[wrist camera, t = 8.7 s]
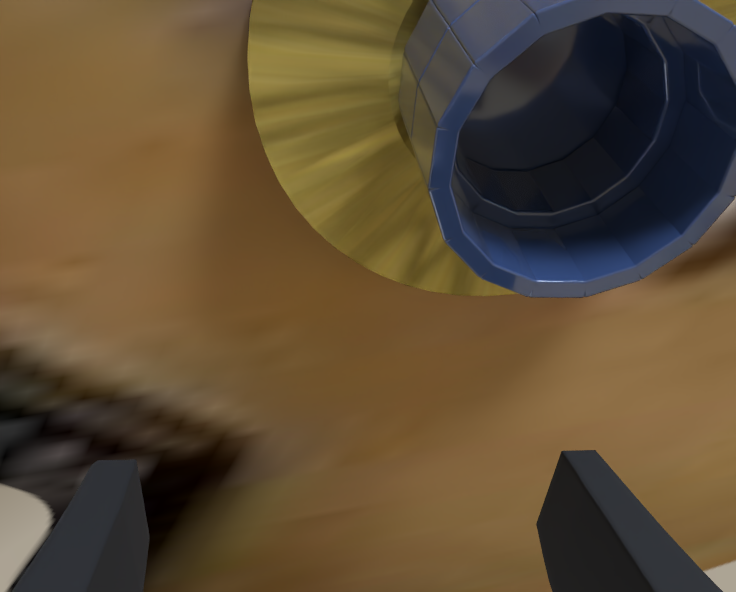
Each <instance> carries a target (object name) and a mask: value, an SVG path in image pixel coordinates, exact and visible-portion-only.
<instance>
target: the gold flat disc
mask: <svg viewBox="0 0 736 592" xmlns="http://www.w3.org/2000/svg"><path fill="white" fill-rule="evenodd" d="M699 1H701V2H702V3H704V4H705V5H707V6H709V7H710V8H712V9H713V10H715V11H717V12H718V13H720V14H722V15H723V16H725V17H726V18H728V19H730V20H731V21H733V23H734V24H735V25H736V0H699ZM428 2H429V0H252V7H251V14H250V24H249V39H248V53H247V57H248V74H249V91H250V96H251V101H252V107H253V112H254V117H255V123H256V126H257V129H258V132H259V135H260V138H261V141H262V144H263V147H264V151H265V154H266V156H267V158H268V160H269V162H270V164H271V166H272V168H273V170H274V173H275V175H276V177H277V179H278V181H279V183H280V184H281V186H282V187H283V189H284V190H285V192H286V193H287V195H288V197H289V198H290V200H291V201H292V203H293V204H294V206H295V207H296V208H297V210H298V211H299V212H300V213H301V214H302V215H303V217H304V218H305V219H306V220H307V221H308V222H309V224H310V225H311V226H312V227H313V228H314V229H315V230H316V231H317V232H318V233H319V234H320V235H321V236H323V237H324V238H325V239H326V240H327V241H328V242H329V243H330V244H331V245H333V246H334V247H335V248H336V249H338V250H339V251H341V252H342V253H343V254H345V255H346V256H348V257H349V258H351V259H352V260H354V261H355V262H356V263H358V264H360V265H362V266H364V267H366V268H368V269H369V270H371V271H373V272H375V273H377V274H379V275H381V276H384V277H386V278H389V279H391V280H394V281H397V282H399V283H402V284H404V285H408V286H412V287H416V288H419V289H423V290H427V291H431V292H438V293H445V294H452V295H464V296H495V295H508V294H517V293H516V292H513V291H511V290H508V289H506V288H503V287H500V286H498V285H495V284H493V283H490V282H488V281H485V280H482V279H481V278H480V277H478V276H477V275H476V274H475V273H474V272H473V271H472V270H471V269H470V268H469V267H468V266H467V265H466V264H465V263H464V262H463V261H462V260H461V259H460V258H459V257H458V256H457V255H456V254H455V253H454V251H453V250H452V249H451V248H450V247H449V246H448V245H447V244H446V243H445V241H444V240H443V238H442V235H441V232H440V229H439V226H438V223H437V221H436V218H435V215H434V212H433V209H432V206H431V203H430V200H429V197H428V194H427V191H426V188H425V185H424V183H423V180H422V177H421V174H420V171H419V168H418V165H417V162H416V159H415V156H414V154H413V151H412V148H411V145H410V141H409V138H408V135H407V132H406V129H405V125H404V122H403V119H402V116H401V113H400V110H399V102H398V96H399V87H400V77H401V67H402V58H403V53H404V52H405V51H404V48H405V46H406V44H407V42H408V40H409V38H410V36H411V34H412V32H413V31H414V29H415V27H416V25H417V23H418V21H419V19H420V17H421V15H422V13H423V11H424V9H425V7H426V5H427V3H428Z"/></svg>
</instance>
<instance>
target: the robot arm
mask: <svg viewBox="0 0 736 592" xmlns="http://www.w3.org/2000/svg"><path fill="white" fill-rule="evenodd" d="M537 529H538V534H539V539H540V543H541V548H542V553H543V557H544V562H545V566H546V570H547V574H548V578H549V582H550V585H551V588H552V591H553V592H723V591H722V590H721V589H720V588H719V587H718V586H716V584H714V582H713V581H712V580H711V579H710V578H709V577H708V576H707V575H706V574H705V573H704V572H703V571H702V570H701V569H700V568H699V567H698V566H697V565H696V564H695V562H694V561H693V560H692V559H691V558H690V557H689V556H688V555H687V554H686V553H685V552H684V550H683V549H682V548H681V547H680V546H679V545H678V544H677V543H676V542H675V541H674V540H673V539H672V537H671V536H670V535H669V534H668V533H667V532H666V531H665V530H664V529H663V528H662V526H661V525H660V524H659V523H658V522H657V521H656V520H655V519H654V517H653V516H652V515H651V514H650V513H649V512H648V511H647V509H646V508H645V507H644V506H643V505H642V504H641V503H640V501H639V500H638V499H637V498H636V497H635V496H634V494H633V493H632V492H631V491H630V490H629V489H628V487H627V486H626V485H625V484H624V483H623V482H622V481H621V479H620V478H619V477H618V476H617V475H616V474H615V472H614V471H613V470H612V469H611V468H610V467H609V465H608V464H607V463H606V462H605V461H604V460H603V459H602V457H601V456H600V455H599V454H598V453H597V452H596V451H595V450H584V451H562V452H561V455H560V458H559V460H558V463H557V466H556V469H555V472H554V475H553V478H552V481H551V483H550V486H549V489H548V492H547V495H546V498H545V501H544V504H543V507H542V509H541V512H540V515H539V518H538V521H537ZM148 545H149V531H148V525H147V519H146V514H145V508H144V502H143V496H142V490H141V484H140V478H139V473H138V467H137V461H136V460H98V461H96V462H95V463H94V464H92V465H91V467H90V469H89V471H88V472H87V474H86V476H85V478H84V480H83V481H82V483H81V485H80V487H79V488H78V490H77V492H76V494H75V495H74V497H73V499H72V500H71V502H70V504H69V505H68V507H67V509H66V510H65V512H64V514H63V515H62V517H61V518H60V520H59V522H58V523H57V525H56V526H55V528H54V530H53V531H52V533H51V534H50V536H49V537H48V539H47V541H46V542H45V544H44V545H43V546H42V548H41V549H40V551H39V552H38V554H37V555H36V557H35V558H34V560H33V561H32V563H31V564H30V566H29V567H28V569H27V570H26V572H25V573H24V575H23V576H22V577H21V579H20V580H19V582H18V583H17V585H16V586H15V588H14V589H13V590H12V592H143V586H144V579H145V571H146V562H147V554H148Z"/></svg>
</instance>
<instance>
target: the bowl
mask: <svg viewBox="0 0 736 592" xmlns="http://www.w3.org/2000/svg"><path fill="white" fill-rule="evenodd" d="M404 51H405V52H404V53H403V58H402V67H401V77H400V87H399V96H398V102H399V110H400V113H401V116H402V119H403V122H404V125H405V129H406V132H407V135H408V138H409V141H410V145H411V148H412V151H413V154H414V156H415V159H416V162H417V165H418V168H419V171H420V174H421V177H422V180H423V183H424V185H425V188H426V191H427V194H428V197H429V200H430V203H431V206H432V209H433V212H434V215H435V218H436V221H437V223H438V226H439V229H440V232H441V235H442V238H443V240H444V241H445V243H446V244H447V245H448V246H449V247H450V248H451V249H452V250H453V251H454V253H455V254H456V255H457V256H458V257H459V258H460V259H461V260H462V261H463V262H464V263H465V264H466V265H467V266H468V267H469V268H470V269H471V270H472V271H473V272H474V273H475V274H476V275H477V276H478V277H480V278H481V279H482V280H485V281H488V282H490V283H493V284H495V285H498V286H500V287H503V288H506V289H508V290H511V291H513V292H516V293H519V294H521V295H524V296H526V297H528V296H529V297H537V298H583V297H588V296H592V295H595V294H598V293H601V292H605V291H608V290H611V289H614V288H617V287H621V286H624V285H627V284H630V283H634V282H637V281H639V280H640V279H644V278H645V277H647V276H648V275H650V274H651V273H653V272H654V271H656V270H658V269H659V268H661V267H662V266H664V265H665V264H667V263H668V262H670V261H671V260H673V259H674V258H676V257H677V256H679V255H681V254H682V253H684V252H685V251H687V250H688V249H690V248H691V247H692V246H693V245H695V244H696V243H697V242H698V241H699V239H700V238H701V237H702V236H703V235H704V234H705V232H706V231H707V230H708V229H709V228H710V227H711V226H712V224H713V223H714V222H715V221H716V220H717V219H718V217H719V216H720V215H721V214H722V213H723V212H724V211H725V209H726V208H727V207H728V206H729V205H730V204H731V203H732V201H733V200H734V199H735V196H736V25H735V24H734V23H733V21H731V20H730V19H728V18H726V17H725V16H723V15H722V14H720V13H718V12H717V11H715V10H713V9H712V8H710V7H709V6H707V5H705V4H704V3H702V2H701V1H699V0H429V2H428V3H427V5H426V7H425V9H424V11H423V13H422V15H421V17H420V19H419V21H418V23H417V25H416V27H415V29H414V31H413V32H412V34H411V36H410V38H409V40H408V42H407V44H406V46H405V48H404Z"/></svg>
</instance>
